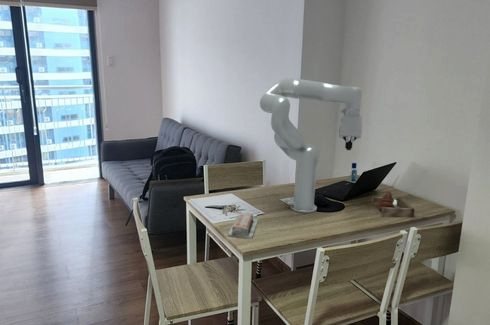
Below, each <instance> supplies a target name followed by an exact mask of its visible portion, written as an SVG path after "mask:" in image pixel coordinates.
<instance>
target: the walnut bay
mask: <svg viewBox="0 0 490 325" xmlns="http://www.w3.org/2000/svg"><path fill="white" fill-rule="evenodd" d="M383 197H384V196H372V197H371V206H378V204H379V203H380V200H382V198H383ZM392 197H393V196H392ZM393 199H394V200H397V206H396V208H389V207H382V212H381V214H380V216H381V217H387V218H388V217H389V218H412V219H413V218H414V215H415V208H414V207H412V205H411V204H409V203H408V202H407V201H406V200H405V199H404V198H402V197H398V196H397V197H396V196H395V197H393Z"/></svg>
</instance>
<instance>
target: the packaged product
mask: <svg viewBox="0 0 490 325" xmlns="http://www.w3.org/2000/svg"><path fill="white" fill-rule="evenodd" d="M258 222H259V220H258V219H256V218H255V219H254V215H253V214H252V213H250V212H247V213H241V214H238V215H237V216H236V218H235V219H234V221H233V224H232V226H231V227H230V229H229V232H228V234H227V237H229V238H239V239H251V240H252V238H253V236H254V234H255V231H256V229H257V226H258Z"/></svg>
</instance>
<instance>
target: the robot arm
mask: <svg viewBox="0 0 490 325" xmlns="http://www.w3.org/2000/svg"><path fill="white" fill-rule="evenodd" d="M362 91H363V89H362V87H360V86H345V85H338V84H331V83H327V82H321V81H315V80H308V79H300V78H292V77H291V78H289V77H287V78H286V77H285V78H283V79H281V80H279V81H278V82H277V83H276V84H275V85H273V86H272V87H271V88H270V89H269V90H267V91H266V92H265V93H264V94H263V95H262V96H261V98H260V100H259V106H260V109H261V110H262V111H263V112H264V113H269V114H271V119H270V125H271V126H270V127H271V129H272V131H273V133H274V134H273V138H274V142H275V144H276V146H278V147H279V149H281V151H282V152H284V154H285V155H286V156H288V158H290V159H292V160H293V161H296V162H298V165H297V168H296V170H295V175H294V176H295V178H294V194H293V197H292V198H291V199H287V198H285V199H284V200H283V202H284V204H287V205H290V209H291V210H292V211H295V212H297V213H298V212H299V213H303V214H304V213H305V214H307V213H314V212H316V211H317V209H318V207H317V205H315V194H316V180H317V169H318V164H319V160H320V156H321V155H320V150H319V149H318V147H316V146H315V145H314V144H311V143H307V142H305V137H304V135H303V134H302V132H301V131H300V130H299V129H298V128H297V127H296V126H295V125H294V124H293V123H292V121H291V119H290V117H289V116H290V115H289V114H290V109H291V103H290V100H289V99H288V98H291V99H298V100H306V101H308V100H309V101H315V102H331V103H340V104H341V103H342V104H344V106H343V107H344V108H343V109H341V110H340V113H341V114H342V115H341V117H340V123H339V129H338V130H339V131H338V138H340V139H342V140H344V142H345V146H344V148H345V149H346V150H347V151H352V149H353V143H354V141H356V140H358V139H361V138H362V137H361V136H362V131H363V127H362V126H363V122H362V115H360V114H361V104H362V93H363V92H362Z"/></svg>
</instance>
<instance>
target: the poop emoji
mask: <svg viewBox="0 0 490 325" xmlns="http://www.w3.org/2000/svg"><path fill="white" fill-rule="evenodd" d="M382 197H383V198H382V200H380V203H379V204H378V205H377V208H378V209H377V210H379V211H380V212H381V213H382V207H389V208H397V207H398V206H397V200H394V199H393V195H392V192H390V190H389V191H387V192H385V194H384V195H383V196H382Z"/></svg>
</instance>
